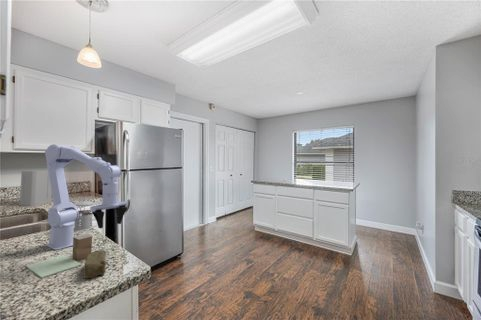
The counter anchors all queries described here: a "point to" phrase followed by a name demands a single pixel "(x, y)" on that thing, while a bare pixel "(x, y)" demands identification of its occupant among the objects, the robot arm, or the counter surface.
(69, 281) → the counter surface
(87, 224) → the french press
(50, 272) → the sage mat
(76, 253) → the walnut block
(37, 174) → the tall grey box
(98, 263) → the stone block
